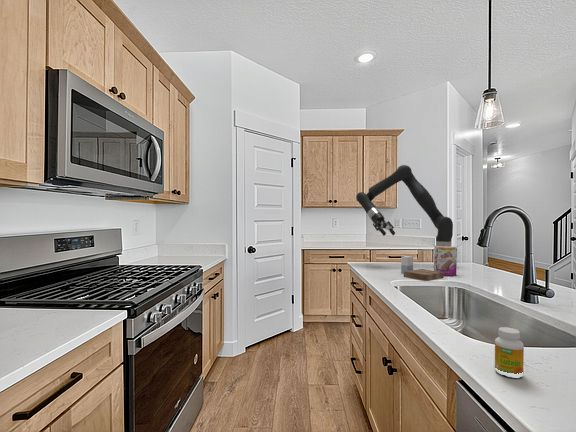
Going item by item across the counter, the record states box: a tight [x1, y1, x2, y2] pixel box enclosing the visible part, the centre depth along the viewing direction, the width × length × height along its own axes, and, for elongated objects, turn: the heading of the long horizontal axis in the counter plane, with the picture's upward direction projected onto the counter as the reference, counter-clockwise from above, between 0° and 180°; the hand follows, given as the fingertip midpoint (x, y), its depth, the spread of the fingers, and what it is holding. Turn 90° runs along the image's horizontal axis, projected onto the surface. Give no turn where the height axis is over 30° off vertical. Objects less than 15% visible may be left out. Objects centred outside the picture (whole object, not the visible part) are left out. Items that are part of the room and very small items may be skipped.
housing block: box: [400, 255, 414, 275], centre depth 204 cm, size 5×4×10 cm
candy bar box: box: [433, 245, 458, 277], centre depth 198 cm, size 11×5×16 cm, turn 84°
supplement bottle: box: [494, 326, 525, 374], centre depth 77 cm, size 5×5×10 cm
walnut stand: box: [403, 268, 445, 282], centre depth 192 cm, size 16×14×3 cm
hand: (389, 234), depth 217 cm, fingers open, 8 cm apart
